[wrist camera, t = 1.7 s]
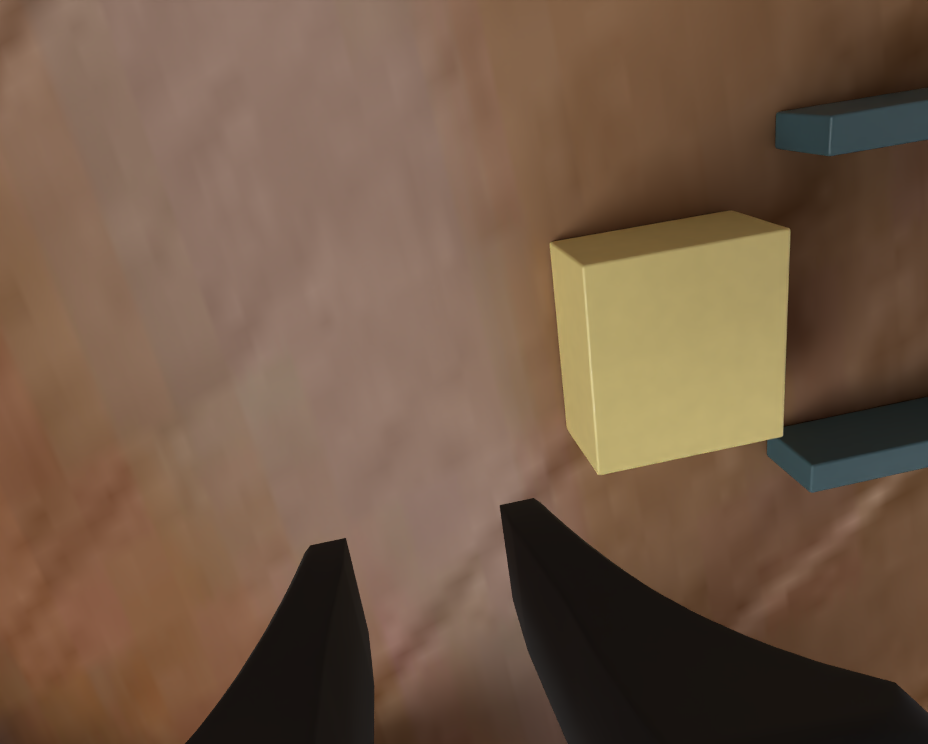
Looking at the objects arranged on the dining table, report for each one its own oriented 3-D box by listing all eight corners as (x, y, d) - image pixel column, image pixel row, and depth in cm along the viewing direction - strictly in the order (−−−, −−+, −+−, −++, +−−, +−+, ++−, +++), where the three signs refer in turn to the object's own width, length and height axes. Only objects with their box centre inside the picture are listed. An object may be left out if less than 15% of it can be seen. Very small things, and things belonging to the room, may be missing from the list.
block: (732, 209, 21) (791, 227, 18) (731, 395, 23) (784, 437, 21) (548, 241, 21) (581, 265, 18) (566, 429, 23) (598, 476, 20)
